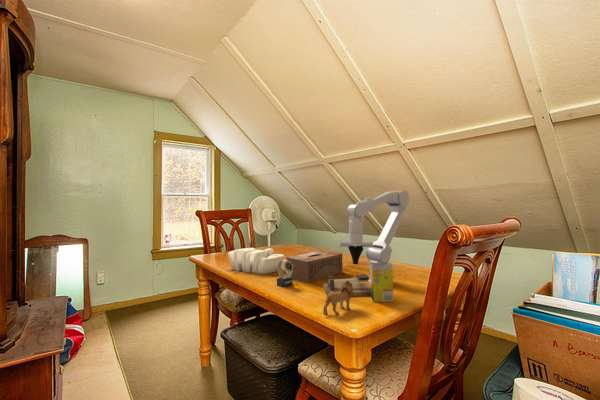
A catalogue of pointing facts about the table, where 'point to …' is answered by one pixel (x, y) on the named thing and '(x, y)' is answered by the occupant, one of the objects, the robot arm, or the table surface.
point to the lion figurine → (339, 297)
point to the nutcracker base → (358, 289)
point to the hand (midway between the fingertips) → (355, 263)
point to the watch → (283, 280)
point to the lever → (359, 279)
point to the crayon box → (382, 286)
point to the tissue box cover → (315, 265)
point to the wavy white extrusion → (254, 260)
